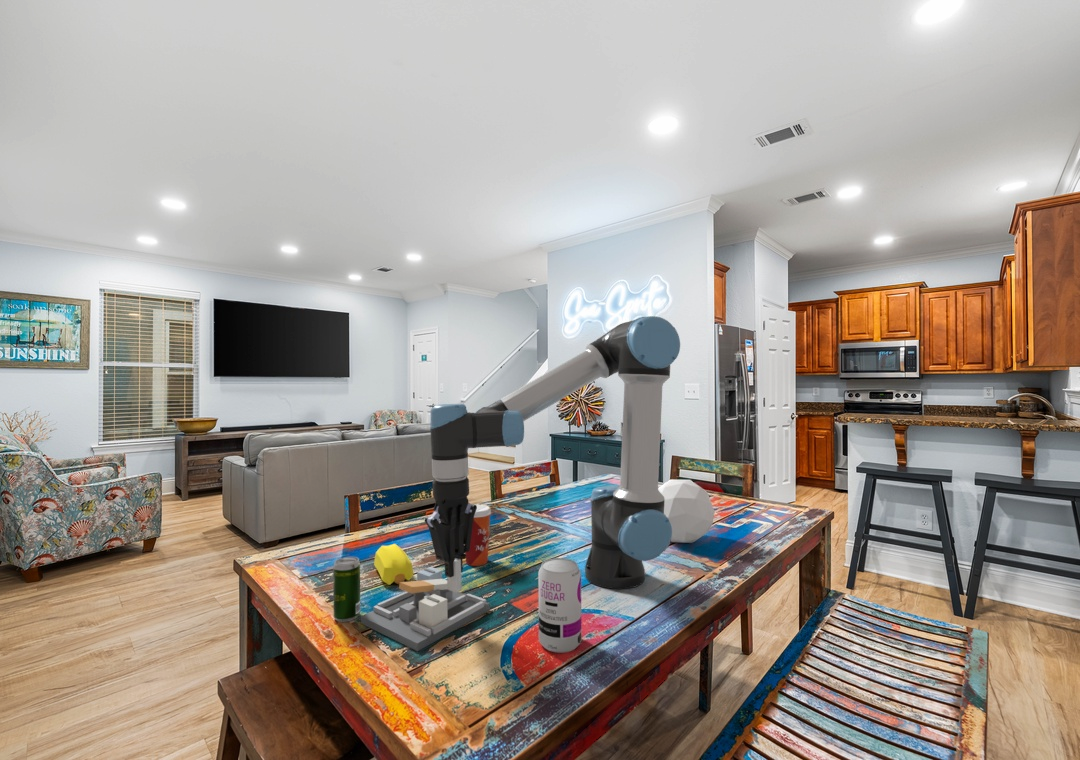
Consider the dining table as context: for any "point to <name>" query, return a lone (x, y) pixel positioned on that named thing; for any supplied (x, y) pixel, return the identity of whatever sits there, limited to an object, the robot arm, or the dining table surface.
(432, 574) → the slider
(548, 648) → the supplement can
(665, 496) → the geometric orb
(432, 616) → the slider
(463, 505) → the robot arm
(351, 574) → the beer can
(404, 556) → the yellow faceted dome
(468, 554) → the coffee cup
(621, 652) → the dining table surface
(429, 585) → the rocker
